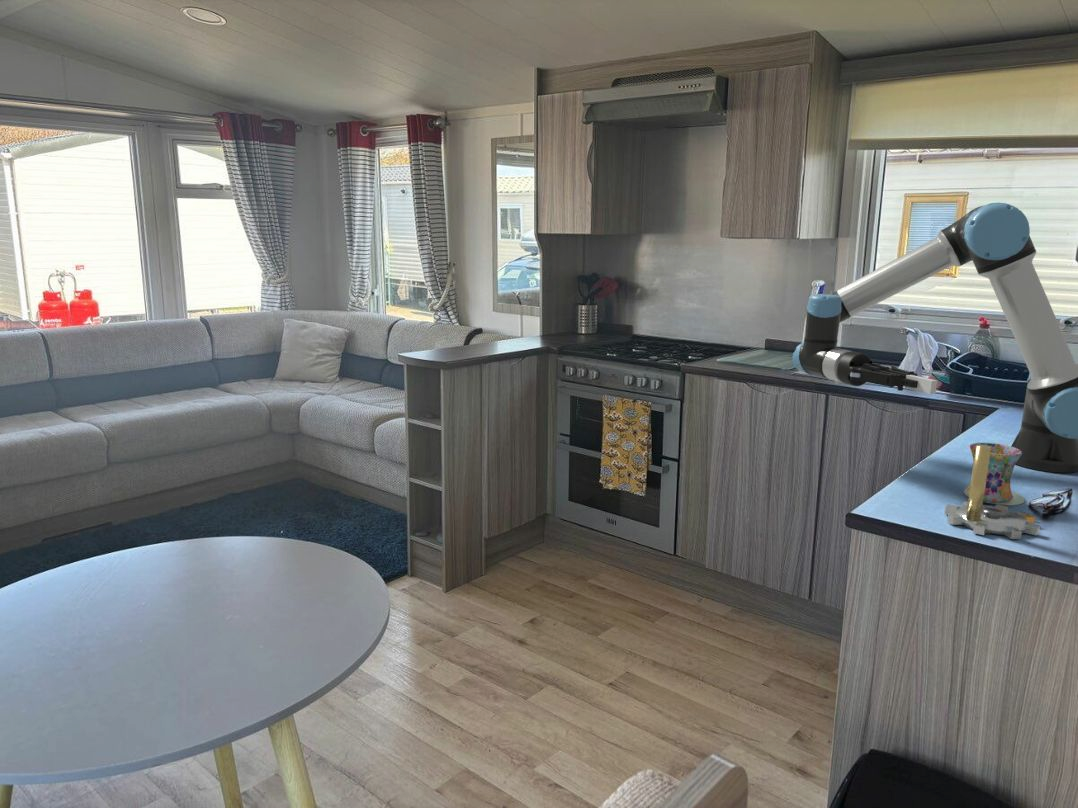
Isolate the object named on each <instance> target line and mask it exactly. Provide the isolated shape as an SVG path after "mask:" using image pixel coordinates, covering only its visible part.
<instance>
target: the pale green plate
mask: <svg viewBox="0 0 1078 808" xmlns="http://www.w3.org/2000/svg"><path fill="white" fill-rule="evenodd" d="M967 488H968V487H966V488H964V490H963V493H964V495H966V496H967V497H968V498H969V494H967V492H966V489H967ZM1011 493H1012V495H1013V499H1012V500H1010V501H1008V502H987V501H983V503H987V504H991V505H1001V506H1020V505H1022V504H1024V503H1025V500H1026V499H1025V497H1024V496H1022V495H1021V494H1020V493H1016V492H1014V491H1012V490H1011Z"/></svg>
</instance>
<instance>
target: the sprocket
mask: <svg viewBox="0 0 1078 808" xmlns="http://www.w3.org/2000/svg"><path fill="white" fill-rule="evenodd" d="M990 451H991V447H990V446H988V445H976V450H975V457H974V461H973V464H972V465H973V466H972V473H971V480H970V483H971V485H970V484H969V485H970V492H969V497H968V498H967V499H968V501H963V505H960V506H957V505H954V504H947V505H946V506H945V507H944V514H945V515H947V520H946V522H948V523H949V524H951V525H952V526H953V525H955V526H956V525H958V526H964V527H966V528H968V529H972V530H973V531H972V533H974V534H977V535H980V536H985V535H986V534H993V535H1000V536H1006V537H1007V538H1009V539H1010V540H1015V539H1016V540H1021V539H1022V534H1029V535H1033V536H1038V534H1039V533H1040V530H1041V529H1040V528H1041V525H1040V524H1036V523H1035V520H1036V517H1035V516H1033V515H1031V514H1030V513H1018V512H1016V511H1013V510H1009V509H1008V506H1007V505H997V504H995V506H992V505H984V502H983V499H984V493H985V486H986V479H987V472H988V465H989V458H990Z"/></svg>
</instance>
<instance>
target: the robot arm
mask: <svg viewBox="0 0 1078 808" xmlns="http://www.w3.org/2000/svg"><path fill="white" fill-rule="evenodd" d="M1030 230H1031V229H1030V223H1029V220H1028V217H1027V216H1026V215H1025V214H1024V212H1023V211H1022V210H1020V209H1019V208H1018V207H1016V206H1014V205H1012V204H1009V203H1006V202H991V203H988V204H985V205H980V206H978V207H976V208H974V209H971V210H970V211H969V212H967V213H966V214H965V215H963V216H962V217H960V218H959V219H958V220H956V221H954V222H953V223H951V224H950V225H948V226H947V227H945V228H943V229H941V230H939V231H938V233H937V235H936V237H935V238H933V239H931V240H929V241H928V242H925V243H924V244H921V245H920V246H917V247H916V248H915V249H913V250H910V251H908V252H907V253H905V254H903V255H902V256H899V257H897V258H895V259H893V260H891V261H890V262H888V263H886V264H883V265H882V266H880V267H879V268H877V269H875V270H872V271H871V272H869V273H867V274H865V275H863V276H861V277H860V278H858V279H856V280H853V281H851V282H849V283H848V284H846V285H845V286H842V287H840V288H839V289H837V290H835V291H834V292H832V293H829V294H826V293H824V294H823V293H815V294H811V295H810V296H809V297H808V300H807V301H808V302H807V306H806V318H805V329H804V330H805V332H804V333H805V334H804V339H803V342H801V343H799V344H798V345H797V346H796V348H795V350H794V352H793V353H792V363H793V365H794V368H795V369H796V370H798V371H799V372H801V373H805V374H807V375H809V376H813V377H819V378H824V379H826V380H831V381H834V382H835V384H836V385H839V384H840V383H843V384H845V385H849V386H853V387H859V386H862V385H865V384H866V383H868V384H874V385H879V386H884V387H890V388H894V387H897V391H899V392H903V390H904V388H905V389H908V390H911V391H915V392H920V393H925V394H929V395H934V394H935V395H936V393H937V386H938V385H937V384H938V380H935V379H931V378H928V377H923V376H918V373H915V371H913V370H911V371H910V370H905V369H902V368H899V367H896V366H895V365H891V366H886V365H885V366H884V365H881V364H880V363H877V362H876V363H875V362H872V359H871V358H870V357H869V355H868V354H866V353H861V352H856V351H853V350H850V349H849V350H848V349H844V348H838V337H839V331H840V324H841V323H842V322H844V321H846V320H848V319H850V318H852V317H854V316H855V315H858V314H859V313H861V312H863V311H865V310H867V309H869V308H871V307H873V306H876V305H877V304H879V303H881V302H883V301H885V300H887V299H889V298H891V297H893V296H895V295H897V294H900V293H901V292H903V291H905V290H907V289H909V288H910V287H913V286H915V285H917V284H918V283H920V282H921V283H922V281H924V280H926V279H927V280H928V278H930V277H933V276H934V275H936V274H938V273H940V272H942V271H944V270H947V269H948V268H950V267H952V266H953V267H958V268H959V267H961V266H963V265H965V264H968V263H969V262H972V263H973V265H974V267H975V269H976V272H977V274H978V276H980V277H983V278H986V279H988V280H989V283H990V284H991V287H992V288H993V289H992V290H993V292H994V293H995V297H996V298H997V300H998V303H999V306H1000V308H1001V310H1002V312H1003V315H1004V316H1005V318H1006V321H1007V323H1008V326H1009V328H1010V329H1011V333H1012V335H1013V337H1014V339H1015V342H1016V344H1017V346H1018V349H1019V351H1020V354H1021V356H1022V357H1023V360H1024V362H1025V364H1026V367H1027V370H1028V373H1029V374H1028V378H1027V380H1026V383H1027V385H1026V391H1025V398H1024V402H1023V403H1024V405H1023V410H1022V416H1021V417H1022V418H1021V424H1020V429H1019V431H1018V433H1017V434H1016V436H1015V438H1014V440H1013V442H1012V444H1011V445H1010V446H1011V447H1014V448H1017V449H1019V450H1021V451H1022V455H1021V456H1020V457H1019V459H1018V461H1017V462H1016V464H1015V465H1018V466H1021V467H1024V468H1027V469H1031V470H1036V471H1037V470H1038V471H1043V472H1050V473H1062V474H1063V473H1069V474H1071V473H1077V472H1078V363H1076V360H1075V359H1074V357H1073V354H1072V352H1071V349H1070V348H1069V345H1068V342H1067V340H1066V338H1065V336H1064V333H1063V330H1062V329H1061V325H1060V324H1059V322H1058V319H1057V317H1056V314H1055V312H1054V311H1053V308H1052V306H1051V303H1050V301H1049V298H1048V296H1047V294H1046V292H1045V289H1044V287H1043V285H1042V282H1041V281H1040V277H1039V276H1038V273H1037V271H1036V269H1035V266H1034V264H1033V260H1034V258H1035V256H1036V254H1037V250H1036V247H1035V245H1034V242H1033V240H1032V238H1031V235H1030Z"/></svg>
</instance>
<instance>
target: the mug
mask: <svg viewBox="0 0 1078 808" xmlns="http://www.w3.org/2000/svg"><path fill="white" fill-rule="evenodd" d="M976 445H988V446H990V447H991V451H990V458H989V465H988V472H987V479H986V486H985V493H984V499H983V501H987V502H1008V501H1010V500H1012V499H1013V495H1012V493H1011V491H1012V488H1011V478H1012V474H1013V471H1014V468H1015V466H1016V465H1017V464H1016V462H1017V461H1018V459H1019V457H1020V456H1021V455H1022V451H1021V450H1019V449H1017V448H1014V447H1011V445H1006V444H1002V443H1001V444H1000V443H995V442H974V443H971V444H970V445H969V448H970V451H971V454H972V460H973V462H974V457H975V450H976ZM970 485H971V482H969V485H968V486H967V487H966V488H967V489H966V488H965V489H966V492H967V494H969V492H970Z"/></svg>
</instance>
